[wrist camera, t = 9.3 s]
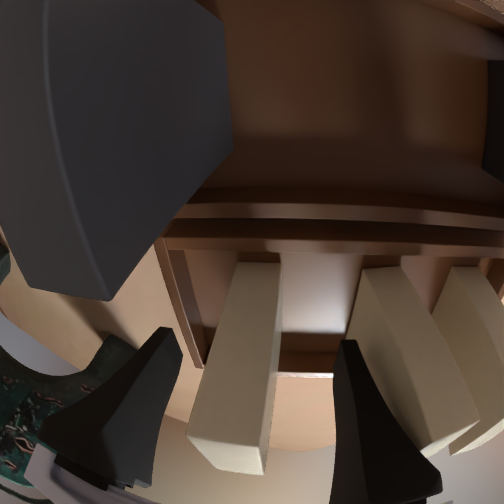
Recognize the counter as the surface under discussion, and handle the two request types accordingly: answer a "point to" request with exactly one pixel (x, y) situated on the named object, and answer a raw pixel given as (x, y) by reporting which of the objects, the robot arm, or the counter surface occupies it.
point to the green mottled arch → (42, 399)
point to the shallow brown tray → (310, 274)
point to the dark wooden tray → (357, 112)
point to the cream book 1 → (241, 373)
